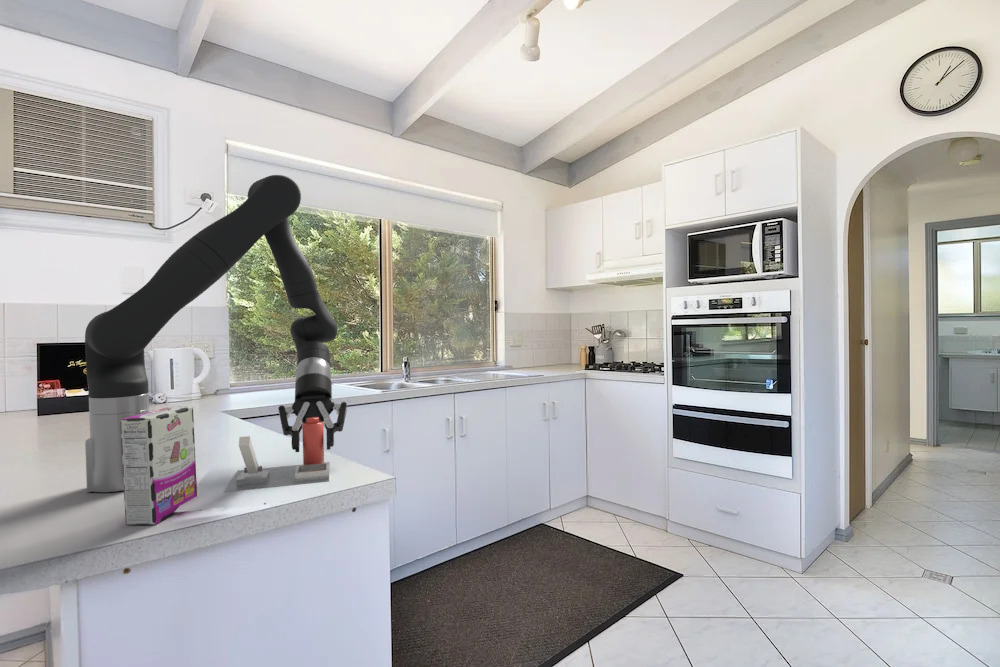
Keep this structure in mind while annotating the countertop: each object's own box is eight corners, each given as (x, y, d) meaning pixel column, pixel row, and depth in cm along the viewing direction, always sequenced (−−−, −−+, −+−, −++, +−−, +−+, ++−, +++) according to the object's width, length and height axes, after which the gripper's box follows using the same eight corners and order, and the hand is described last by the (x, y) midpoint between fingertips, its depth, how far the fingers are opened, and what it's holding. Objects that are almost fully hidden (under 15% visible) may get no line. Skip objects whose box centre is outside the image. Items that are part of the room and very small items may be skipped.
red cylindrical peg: (302, 470, 105) (301, 420, 105) (303, 465, 109) (302, 417, 109) (324, 468, 107) (322, 418, 106) (324, 463, 110) (323, 415, 110)
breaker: (244, 475, 99) (234, 446, 89) (245, 467, 100) (234, 437, 90) (262, 473, 100) (253, 444, 90) (262, 465, 101) (254, 435, 91)
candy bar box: (169, 501, 91) (166, 406, 91) (198, 501, 91) (195, 405, 91) (121, 526, 80) (118, 417, 80) (154, 526, 80) (151, 417, 80)
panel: (223, 497, 93) (223, 483, 93) (237, 475, 106) (237, 463, 106) (329, 486, 98) (328, 473, 98) (329, 466, 112) (329, 455, 112)
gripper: (276, 373, 113) (272, 441, 101) (347, 370, 117) (350, 435, 106) (279, 395, 118) (275, 462, 107) (347, 391, 122) (350, 455, 111)
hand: (313, 448), depth 106 cm, fingers open, 5 cm apart
